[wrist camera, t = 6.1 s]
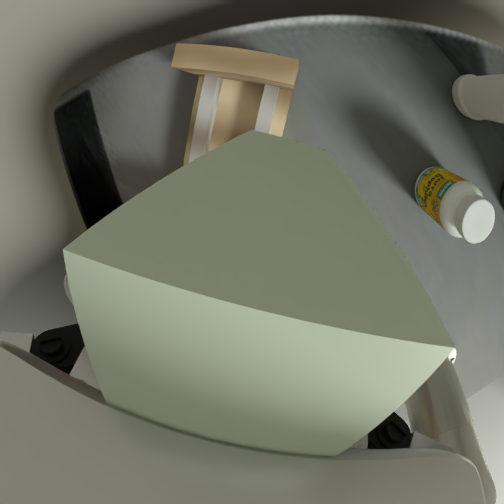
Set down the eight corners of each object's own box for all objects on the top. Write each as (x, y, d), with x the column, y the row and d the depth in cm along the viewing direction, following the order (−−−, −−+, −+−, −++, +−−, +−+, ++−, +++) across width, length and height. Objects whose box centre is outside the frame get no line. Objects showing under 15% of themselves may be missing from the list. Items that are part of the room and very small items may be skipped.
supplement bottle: (441, 217, 27) (483, 258, 18) (406, 202, 27) (445, 242, 18) (457, 175, 24) (507, 205, 16) (422, 157, 24) (470, 181, 16)
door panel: (250, 129, 10) (61, 249, 2) (324, 149, 10) (455, 347, 2) (212, 316, 15) (153, 488, 7) (264, 330, 15) (235, 509, 7)
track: (258, 229, 31) (247, 268, 24) (180, 210, 31) (149, 242, 24) (297, 74, 22) (299, 59, 15) (207, 59, 22) (176, 43, 16)
